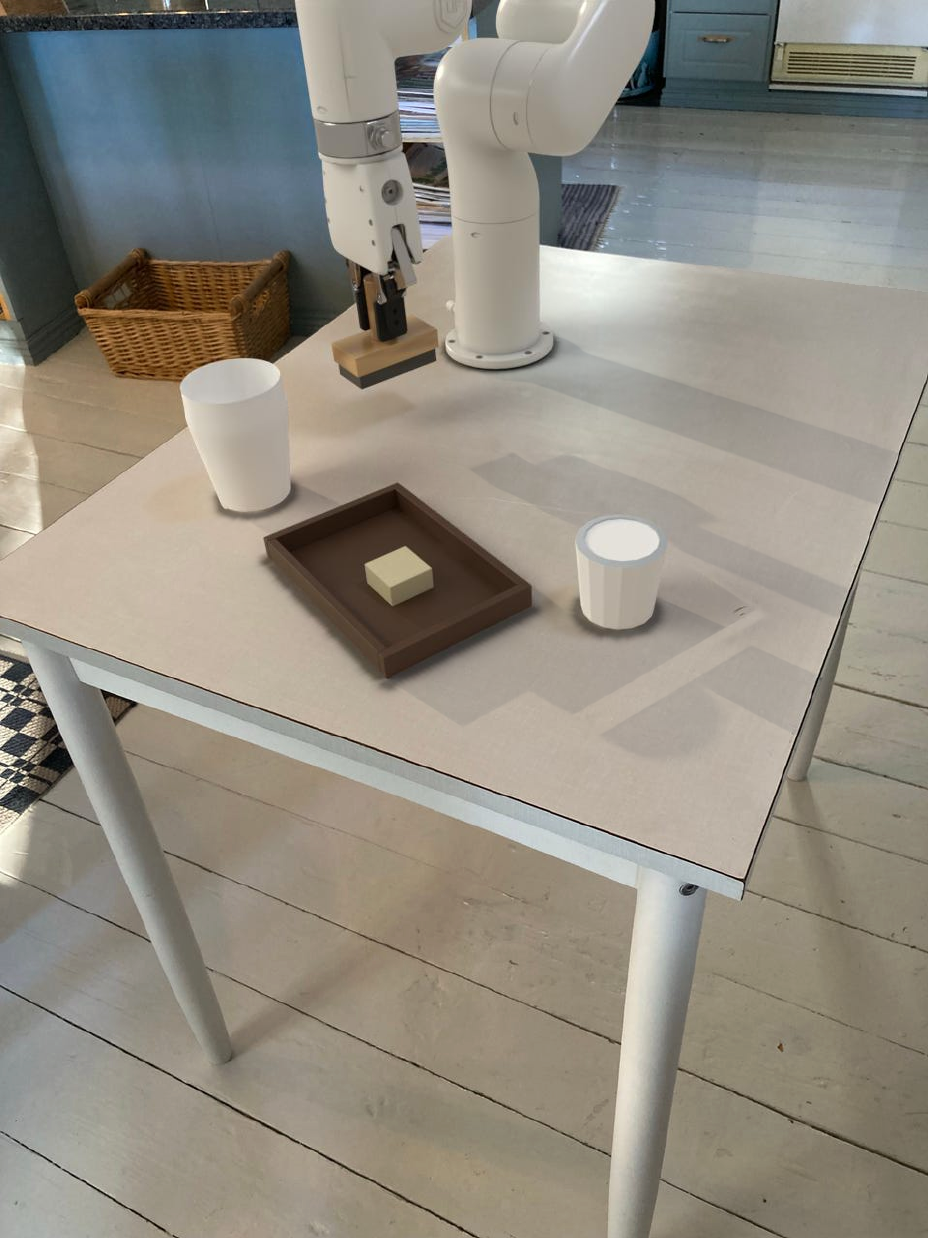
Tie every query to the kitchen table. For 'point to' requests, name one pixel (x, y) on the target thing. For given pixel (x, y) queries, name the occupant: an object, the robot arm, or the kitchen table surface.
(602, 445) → the kitchen table surface
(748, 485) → the kitchen table surface
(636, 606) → the white tapered tub
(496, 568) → the tray
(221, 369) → the cup
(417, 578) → the sponge chip
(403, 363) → the brush
